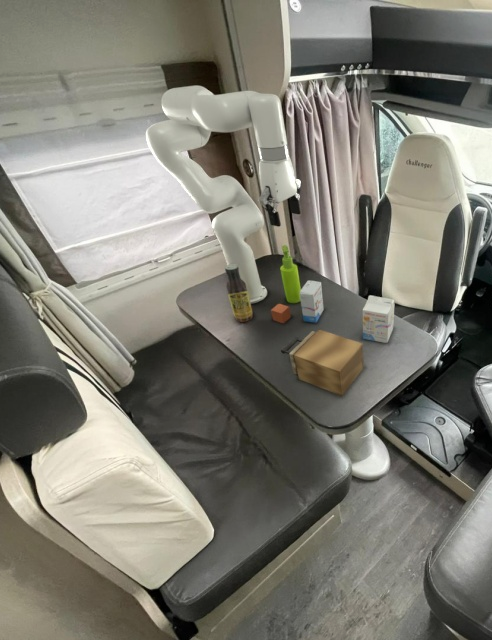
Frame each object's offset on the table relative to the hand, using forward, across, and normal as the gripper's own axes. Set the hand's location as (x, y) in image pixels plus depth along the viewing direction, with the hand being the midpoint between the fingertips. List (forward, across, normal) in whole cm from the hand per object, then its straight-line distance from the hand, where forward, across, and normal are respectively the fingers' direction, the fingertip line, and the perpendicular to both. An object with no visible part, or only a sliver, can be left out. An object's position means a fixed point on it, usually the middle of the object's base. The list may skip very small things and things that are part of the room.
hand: (286, 219), depth 105 cm
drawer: (+34, +20, +18) cm, 43 cm away
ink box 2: (+35, -3, +28) cm, 45 cm away
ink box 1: (+35, -2, +3) cm, 35 cm away
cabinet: (+35, +20, +23) cm, 47 cm away
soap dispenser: (+35, -9, -10) cm, 37 cm away
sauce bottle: (+35, +9, -19) cm, 40 cm away
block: (+35, +4, -7) cm, 35 cm away
